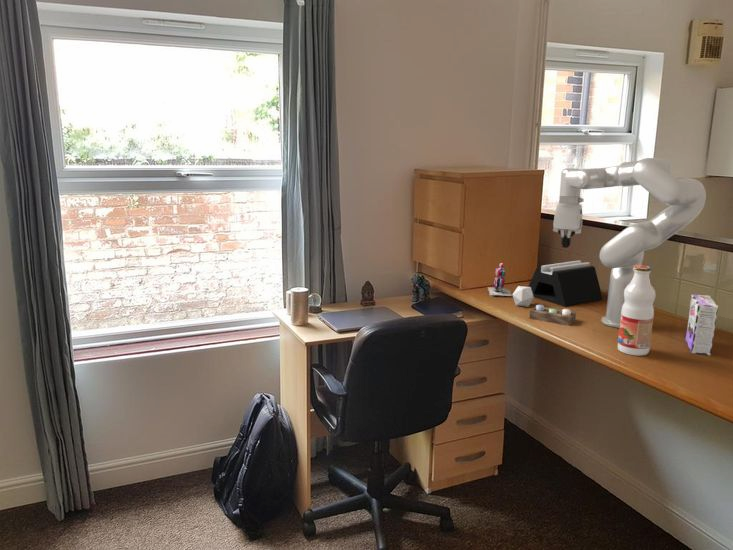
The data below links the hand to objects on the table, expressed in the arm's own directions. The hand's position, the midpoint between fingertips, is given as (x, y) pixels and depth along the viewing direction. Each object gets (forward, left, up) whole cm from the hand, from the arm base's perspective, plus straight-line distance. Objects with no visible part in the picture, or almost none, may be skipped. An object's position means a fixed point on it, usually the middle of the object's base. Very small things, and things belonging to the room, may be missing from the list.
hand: (565, 247), depth 228 cm
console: (-2, +17, -25) cm, 30 cm away
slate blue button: (+3, +17, -25) cm, 30 cm away
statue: (+29, -7, -25) cm, 39 cm away
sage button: (-2, +17, -26) cm, 31 cm away
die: (+14, +5, -25) cm, 29 cm away
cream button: (-7, +17, -25) cm, 31 cm away
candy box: (-51, +20, -25) cm, 60 cm away
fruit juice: (-34, +36, -25) cm, 56 cm away
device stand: (+4, -18, -26) cm, 31 cm away
